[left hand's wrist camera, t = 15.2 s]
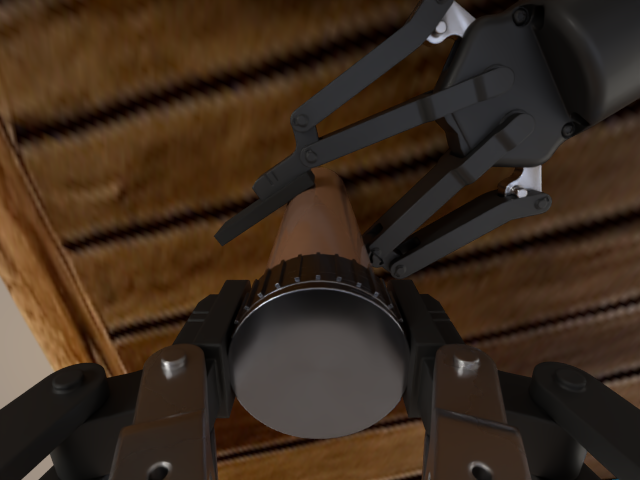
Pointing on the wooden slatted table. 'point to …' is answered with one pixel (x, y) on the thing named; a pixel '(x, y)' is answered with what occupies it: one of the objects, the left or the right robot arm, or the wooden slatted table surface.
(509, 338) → the wooden slatted table surface
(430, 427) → the left robot arm
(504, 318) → the wooden slatted table surface
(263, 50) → the wooden slatted table surface
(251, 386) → the lid
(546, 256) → the wooden slatted table surface
